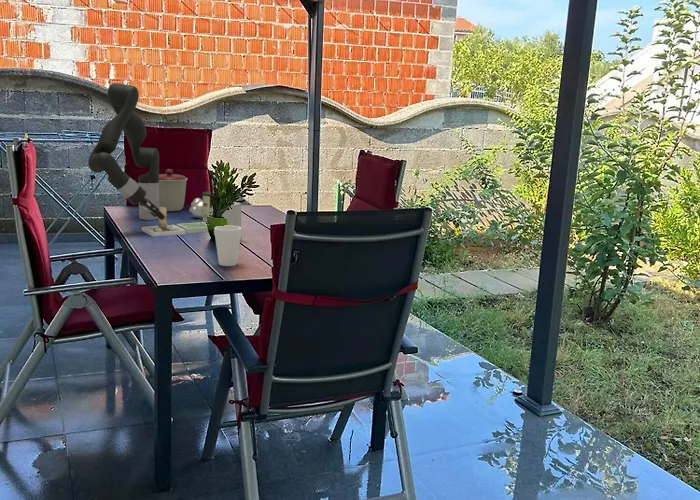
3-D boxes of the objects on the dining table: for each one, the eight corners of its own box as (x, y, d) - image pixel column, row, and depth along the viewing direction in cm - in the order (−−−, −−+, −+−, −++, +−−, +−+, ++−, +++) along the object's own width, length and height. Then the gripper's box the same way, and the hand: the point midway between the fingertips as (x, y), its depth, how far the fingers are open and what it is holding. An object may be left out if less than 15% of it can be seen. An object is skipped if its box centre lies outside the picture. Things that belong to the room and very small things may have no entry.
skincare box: (242, 239, 275) (242, 202, 271) (234, 242, 268) (234, 204, 265) (224, 237, 277) (224, 201, 274) (216, 240, 271) (216, 203, 268)
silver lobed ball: (192, 216, 324) (192, 196, 321) (211, 217, 323) (211, 197, 321) (187, 219, 315) (187, 198, 313) (207, 220, 314) (207, 199, 312)
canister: (160, 206, 349) (159, 166, 344) (193, 208, 346) (192, 168, 342) (145, 211, 331) (144, 169, 326) (179, 214, 329) (179, 171, 324)
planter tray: (176, 230, 288) (176, 223, 287) (203, 228, 294) (202, 222, 294) (186, 235, 278) (186, 228, 277) (213, 233, 285) (213, 226, 284)
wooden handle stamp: (153, 231, 280) (152, 207, 277) (167, 230, 283) (166, 206, 281) (158, 233, 275) (157, 209, 273) (172, 232, 278) (171, 208, 276)
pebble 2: (169, 233, 277) (168, 226, 276) (175, 232, 279) (175, 225, 278) (171, 234, 274) (171, 227, 274) (178, 233, 276) (178, 226, 275)
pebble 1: (153, 234, 273) (153, 227, 273) (160, 233, 275) (160, 226, 274) (156, 235, 271) (155, 228, 270) (163, 234, 273) (163, 227, 272)
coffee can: (228, 221, 314) (228, 192, 311) (219, 225, 305) (219, 194, 302) (207, 219, 316) (207, 190, 313) (198, 223, 307) (198, 193, 303)
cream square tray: (141, 232, 280) (141, 227, 279) (173, 230, 288) (173, 224, 287) (152, 238, 269) (152, 233, 268) (185, 236, 277) (185, 230, 276)
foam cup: (216, 260, 238) (216, 225, 235) (242, 260, 239) (242, 225, 236) (213, 266, 229) (213, 230, 226) (240, 267, 230) (240, 230, 227)
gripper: (143, 186, 263) (171, 212, 272) (132, 181, 274) (160, 207, 283) (130, 199, 261) (159, 226, 270) (120, 195, 273) (148, 220, 282)
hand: (159, 216), depth 277 cm, fingers open, 8 cm apart
